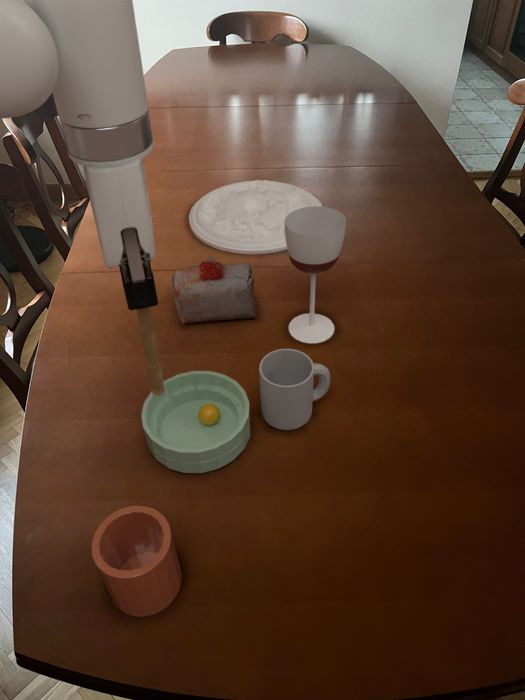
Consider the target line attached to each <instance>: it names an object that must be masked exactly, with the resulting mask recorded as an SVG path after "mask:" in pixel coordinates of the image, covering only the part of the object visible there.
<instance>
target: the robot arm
mask: <svg viewBox="0 0 525 700" xmlns="http://www.w3.org/2000/svg"><path fill="white" fill-rule="evenodd" d="M134 8H135V7H134V2H133V0H0V120H1V119H12V118H18V117H21V116H25V115H28V114H29V113H31V112H33V111H35V110H37V109H39V108H40V107H41V106H42V105H43V104H45V103H46V101H48V99H49V98H50V96H51V95H52V96H53V100H54V104H55V107H56V112H57V116H58V119H59V123H60V127H61V132H62V136H63V140H64V143H65V147H66V152H67V156H68V158H69V159H70V160H71V161H72V162H73V163H75V164H77V165H80V166H82V167H83V168H82V169H83V174H84V179H85V184H86V189H87V193H88V198H89V202H90V203H89V204H90V207H91V212H92V215H93V219H94V223H95V227H96V233H97V236H98V240H99V244H100V249H101V252H102V258H103V263H104V266H105V267H107V268H108V269H110V270H113V268H119V272H120V278H121V282H122V287H123V292H124V297H125V301H126V305H127V309H128V310H129V311H137V309H142V308H147V307H151V308H153V307H156V306H158V305H159V299H158V293H157V288H156V282H155V277H154V272H153V270H152V265H151V263H152V262H153V261H154V260H155V258H156V245H155V235H154V225H153V224H154V223H153V217H152V208H151V202H150V195H149V189H148V183H147V182H148V181H147V176H146V170H145V164H144V158H146V157H147V156H149V155H150V154H151V153H153V150H154V147H155V142H154V134H153V128H152V122H151V121H152V120H151V115H150V108H149V102H148V95H147V89H146V82H145V75H144V74H145V73H144V69H143V62H142V55H141V48H140V42H139V35H138V28H137V22H136V15H135V9H134ZM142 260H143V263H142ZM128 263H129V266H128Z"/></svg>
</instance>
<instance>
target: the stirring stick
mask: <svg viewBox="0 0 525 700" xmlns="http://www.w3.org/2000/svg"><path fill="white" fill-rule="evenodd" d="M142 263H143V260H142ZM128 266H129V263H128ZM136 315H137V319H138V325H139V332H140V336H141V341H142V347H143V353H144V358H145V362H146V367H147V373H148V379H149V384H150V390H151V391H152V393H153V395H155V396H160V395H162V394H164V392H165V388H164V382H163V381H164V376H163V371H162V364H161V359H160V353H159V352H160V351H159V347H158V339H157V335H156V328H155V321H154V316H153V310H152V307H147V308H142V309H137V310H136Z"/></svg>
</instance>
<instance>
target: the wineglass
mask: <svg viewBox="0 0 525 700" xmlns="http://www.w3.org/2000/svg"><path fill="white" fill-rule="evenodd" d="M346 227H347V218H346V216H345V215H344V214H343V212H341V211H340V210H337V209H336V208H333V207H329V206H323V207H320V206H312V207H304V208H300V209H297V210H295V211H293V212H291V213H289V214H288V215H287V216H286V218H285V238H286V244H287V253H288V257H289V260H290V263H291V265H293V266H294V268H295V269H297V270H298V271H301V272H303V273H307V274H310V287H309V288H310V290H309V291H310V292H309V312H308V313H302V314H299V315H297V316H295V317H293V318H292V320H291V321H290V322H289V324H288V332H289V335H290V336H291V337H292V338H294V340H296V341H299V342H301V343H304V344H319V343H323V342H325V341H328V340H329V339H330V338H332V336H333V335H334V333H335V324H334V323H333V322H332V320H331V319H330V318H329V317H327V316H326V315H322V314H319V313H315V309H316V307H315V305H316V278H317V274H320V273H323V272H326V271H328V270H330V269H331V268H333V267H334V265H335V264H336V263H337V262H338V260H339V258H340V254H341V251H342V249H343V244H344V240H345V235H346Z"/></svg>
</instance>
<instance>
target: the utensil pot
mask: <svg viewBox="0 0 525 700" xmlns="http://www.w3.org/2000/svg"><path fill="white" fill-rule="evenodd" d="M91 557H92V559H93V561H94V564H95V565H96V567H97V571H98V573H99V575H100V577H101V579H102V581H103V583H104V585H105V587H106V589H107V591H108V594H109V596H110V597H111V600H112V602H113V604H114V605H115V606H116V608H117V609H118V610H119V611H121V612H122V613H124V614H126V615H128V616H131V617H139V618H143V617H144V618H145V617H150V616H153V615H155V614H157V613H160V612H162V611H163V610H164V609H166V608H167V607H168V606H169V605H171V603H172V602H173V601H174V600H175V598H176V597H177V595H178V593H179V591H180V589H181V585H182V581H183V580H182V579H183V578H182V576H183V573H182V568H181V564H180V563H181V562H180V559H179V556H178V552H177V547H176V544H175V540H174V537H173V534H172V529H171V526H170V523H169V521H168V520H167V518H166V516H165V515H164V514H162V513H161V512H160V511H159V510H157V509H155V508H153V507H149V506H146V505H131V506H126V507H123V508H119V509H118V510H116V511H114V512H112V513H111V514H109V515H108V516H107V517H106V518H105V519H103V520H102V522H101V523H100V524H99V526H98V527H97V529H96V530H95V532H94V534H93V538H92V541H91Z"/></svg>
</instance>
